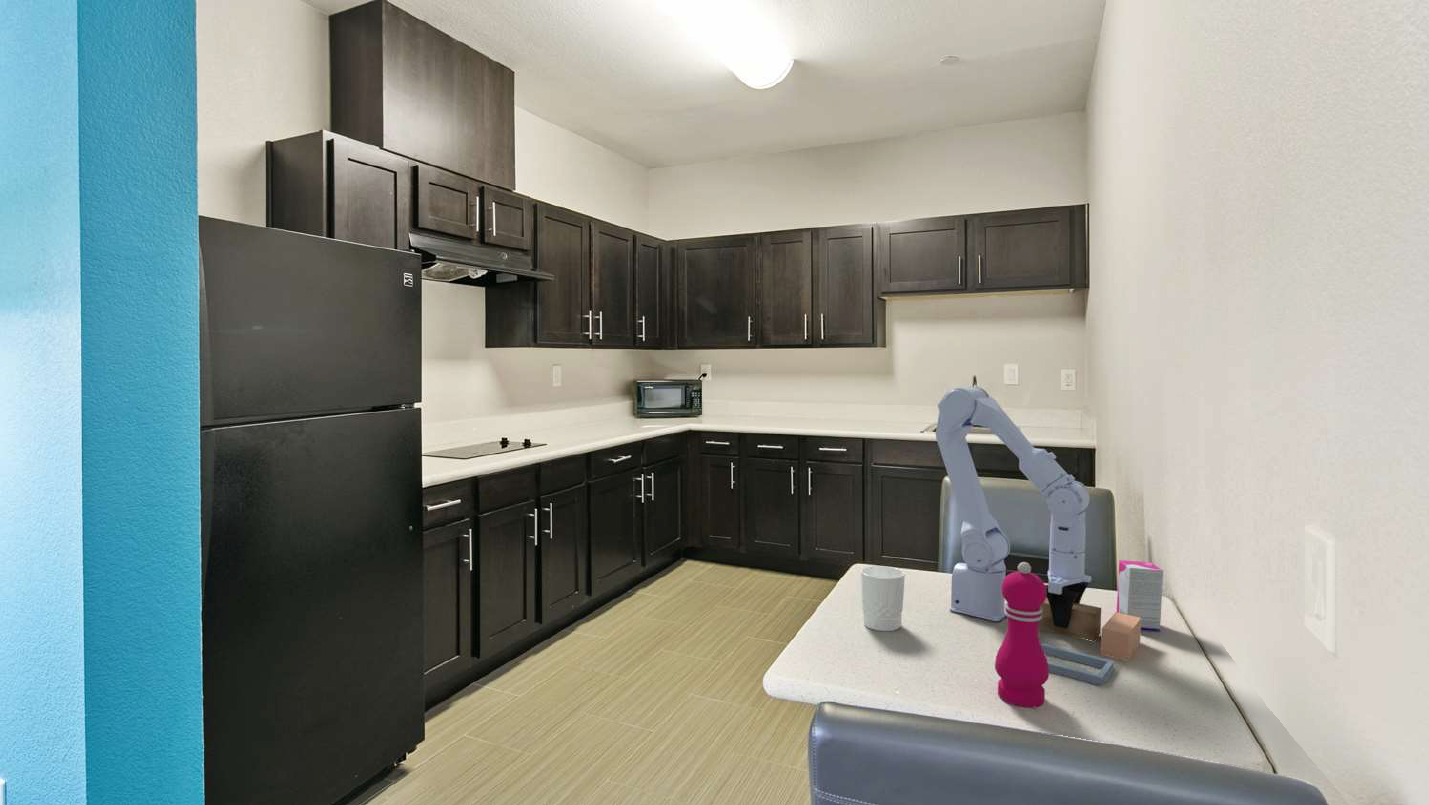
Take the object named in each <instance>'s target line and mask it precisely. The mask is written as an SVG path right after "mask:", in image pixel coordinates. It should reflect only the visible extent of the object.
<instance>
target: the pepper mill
mask: <svg viewBox="0 0 1429 805" xmlns="http://www.w3.org/2000/svg"><path fill="white" fill-rule="evenodd" d="M1017 565H1018V566H1017V571H1014V572H1011V573H1008V574H1007V575H1005V579H1004V580H1003V582H1002V588H1001V591H1002V595H1003V597H1004V598H1005V601H1006V603H1005V611H1004V612H1005V615H1006V616H1005V617H1007V628H1006V632H1005V636H1004V639H1003V640H1002V643H1001V645H1000V646H999V649H998V650H997V653H996V656H995V660H994V661H995V662H994V670H995V671H996V673H997V674H998V676H999V677H1000V679H999V680H998V682H997V695H998V697H999V698H1000V699H1001V700H1002V701H1004V702H1006V703H1007V704H1010V705H1012V706H1013V705H1014V706H1015V707H1022V708H1037V707H1040V706H1042V705H1043V704H1044V703H1045V699H1046V698H1045V697H1046V696H1045V694H1046V692H1045V688H1044V686H1043V685H1044V684H1045V683H1046V682H1047V681H1048V680H1049V677H1050V672H1049V666H1048V662H1047V661H1048V659H1047V657H1046V654H1045V653H1044V652H1043V650H1042V647H1041V644H1040V643H1041V641H1040V637H1039V629H1038V623H1039V620H1041V619H1042V615H1041V613H1042V608H1041V607H1040V606H1041V605H1042V604H1043V603H1044V602H1045V600H1046V595H1047V592H1046V586H1045V585H1046V584H1045V582H1044V581H1043V580H1042V579H1041V577H1040V576H1038V575H1036V574H1034V573H1031V571H1032V567H1031V565H1030V563H1028V562H1026V561H1022V562H1020V563H1019V564H1017Z"/></svg>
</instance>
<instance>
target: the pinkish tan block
mask: <svg viewBox="0 0 1429 805" xmlns="http://www.w3.org/2000/svg"><path fill="white" fill-rule="evenodd" d="M1116 612H1117V611H1116ZM1116 612H1114V613H1113V615H1112V616H1111V617H1110V618H1109V619H1108V620H1107V621H1106V622H1105V624H1104V625H1103V626H1102V627H1101V634H1100V637H1101V638H1100V655H1102V654H1103V656H1106V655H1107V657H1110V658H1115V659H1119V660H1123V661H1129V660H1130V658H1131V656H1132V655H1133V654H1134V652H1135V651H1136V650H1137V648H1138V647H1139V645H1140V644H1141V634H1142V633H1141V632H1142V630H1141V618H1140V617H1135V616H1130V615H1125V614H1120V613H1116Z"/></svg>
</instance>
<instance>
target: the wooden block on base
mask: <svg viewBox="0 0 1429 805" xmlns="http://www.w3.org/2000/svg"><path fill="white" fill-rule="evenodd" d="M1040 607H1041V608H1042V613H1041V615H1042V619H1041V620H1039V623H1038V630H1042V631H1046V632H1051V633H1055V634H1059V635H1062V636H1063V635H1064V636H1068V637H1072V638H1077V639H1080V638H1082V639H1081V640H1084V639H1088V640H1087V641H1089V640H1092V641H1091V642H1093V641H1095V640H1096V639H1097V638H1098V637H1099V638H1100V636H1101V632H1102V627H1101V625H1102V607H1099V606H1098V607H1097V606H1094V605H1089V604H1085V603H1075V602H1074V604H1073V607H1072V611H1071V617H1070V622H1069V625H1068V628H1062V627H1057V626H1055V625H1054V622H1053V617H1052V612H1051V608H1050V604H1049V602H1048V599H1047V597H1046V600H1045V602H1044V603H1043V604H1042V605H1041V606H1040ZM1099 635H1100V636H1099ZM1083 638H1084V639H1083ZM1099 638H1098V639H1099ZM1098 639H1097V640H1098ZM1097 640H1096V641H1097ZM1096 641H1095V642H1096Z"/></svg>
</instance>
